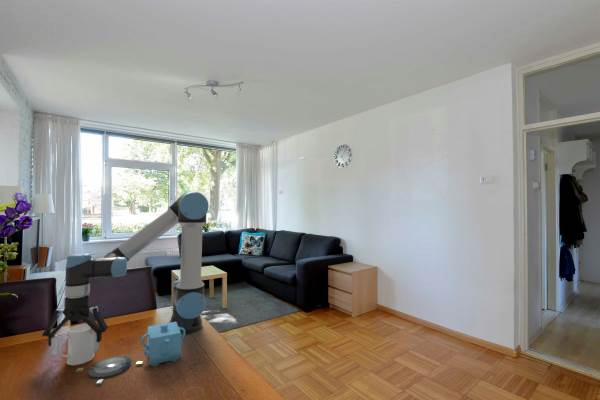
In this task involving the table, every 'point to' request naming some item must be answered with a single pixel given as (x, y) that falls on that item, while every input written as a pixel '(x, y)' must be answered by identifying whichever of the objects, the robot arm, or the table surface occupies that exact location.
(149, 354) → the teapot
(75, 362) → the mug
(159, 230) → the robot arm
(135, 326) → the table surface
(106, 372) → the socket pad
